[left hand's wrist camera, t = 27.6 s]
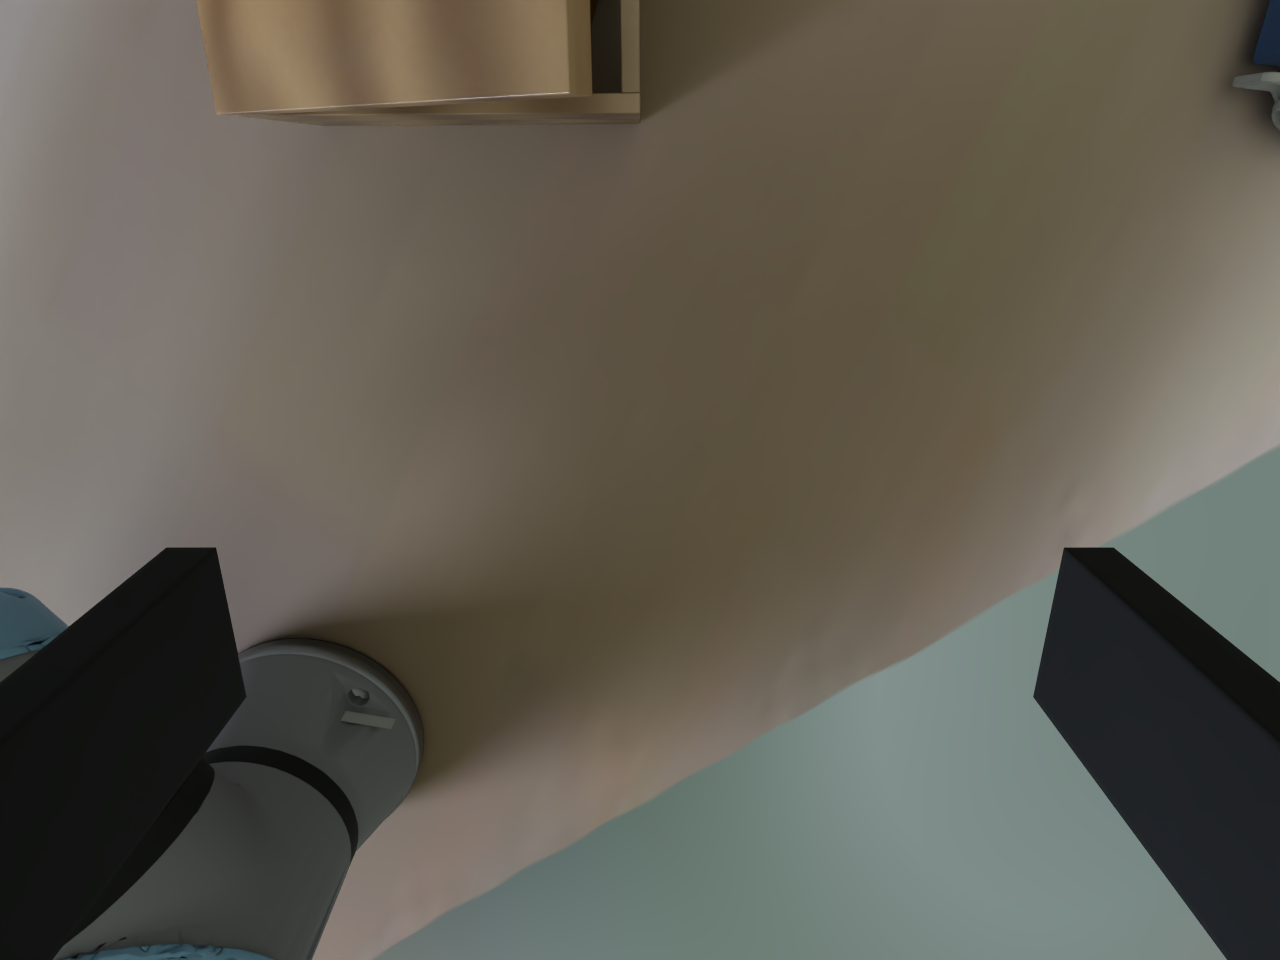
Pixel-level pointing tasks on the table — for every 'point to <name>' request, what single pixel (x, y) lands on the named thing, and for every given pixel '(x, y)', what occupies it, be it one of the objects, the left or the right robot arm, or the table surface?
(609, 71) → the chest
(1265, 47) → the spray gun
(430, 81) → the lid
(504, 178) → the table surface
